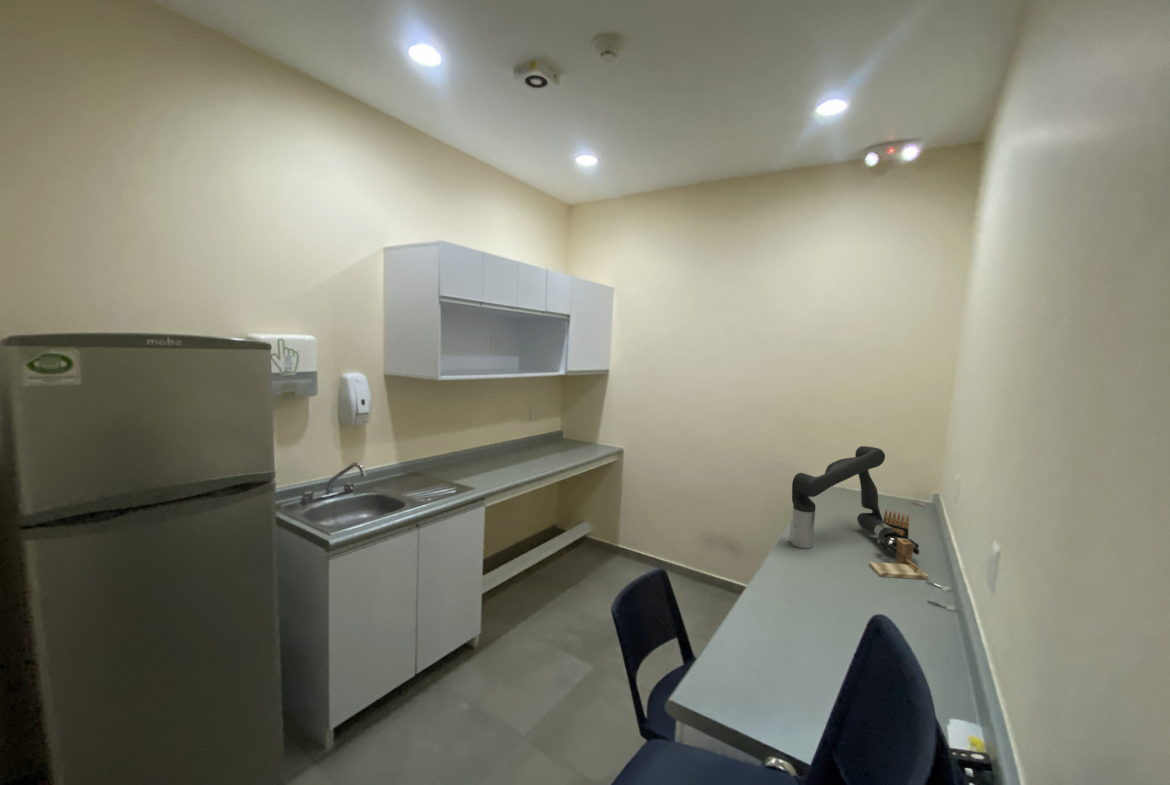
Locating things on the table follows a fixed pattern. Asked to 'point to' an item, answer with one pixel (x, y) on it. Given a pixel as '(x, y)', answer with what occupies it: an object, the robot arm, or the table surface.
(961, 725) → the table surface
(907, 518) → the ammunition clip
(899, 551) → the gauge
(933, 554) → the table surface
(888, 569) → the board
